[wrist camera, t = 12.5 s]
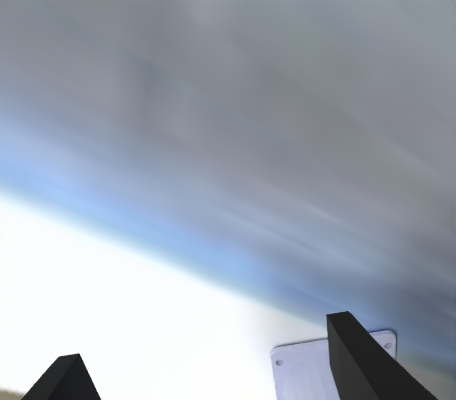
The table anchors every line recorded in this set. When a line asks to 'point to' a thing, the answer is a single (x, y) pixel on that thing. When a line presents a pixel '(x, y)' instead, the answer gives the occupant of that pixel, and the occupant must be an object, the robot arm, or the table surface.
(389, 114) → the table surface
